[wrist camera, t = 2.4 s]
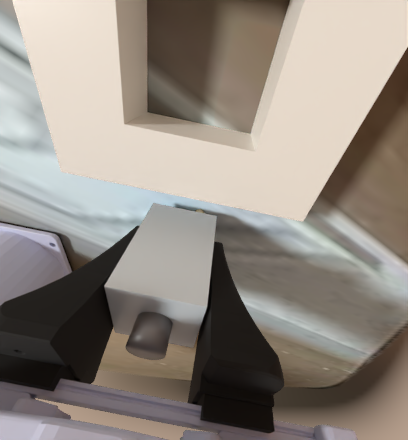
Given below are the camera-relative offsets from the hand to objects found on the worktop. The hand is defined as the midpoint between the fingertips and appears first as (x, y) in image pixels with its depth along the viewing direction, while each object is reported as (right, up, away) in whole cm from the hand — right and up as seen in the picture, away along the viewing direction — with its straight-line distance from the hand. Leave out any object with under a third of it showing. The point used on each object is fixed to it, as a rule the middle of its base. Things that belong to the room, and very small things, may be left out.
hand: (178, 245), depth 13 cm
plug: (0, +1, +2) cm, 2 cm away
